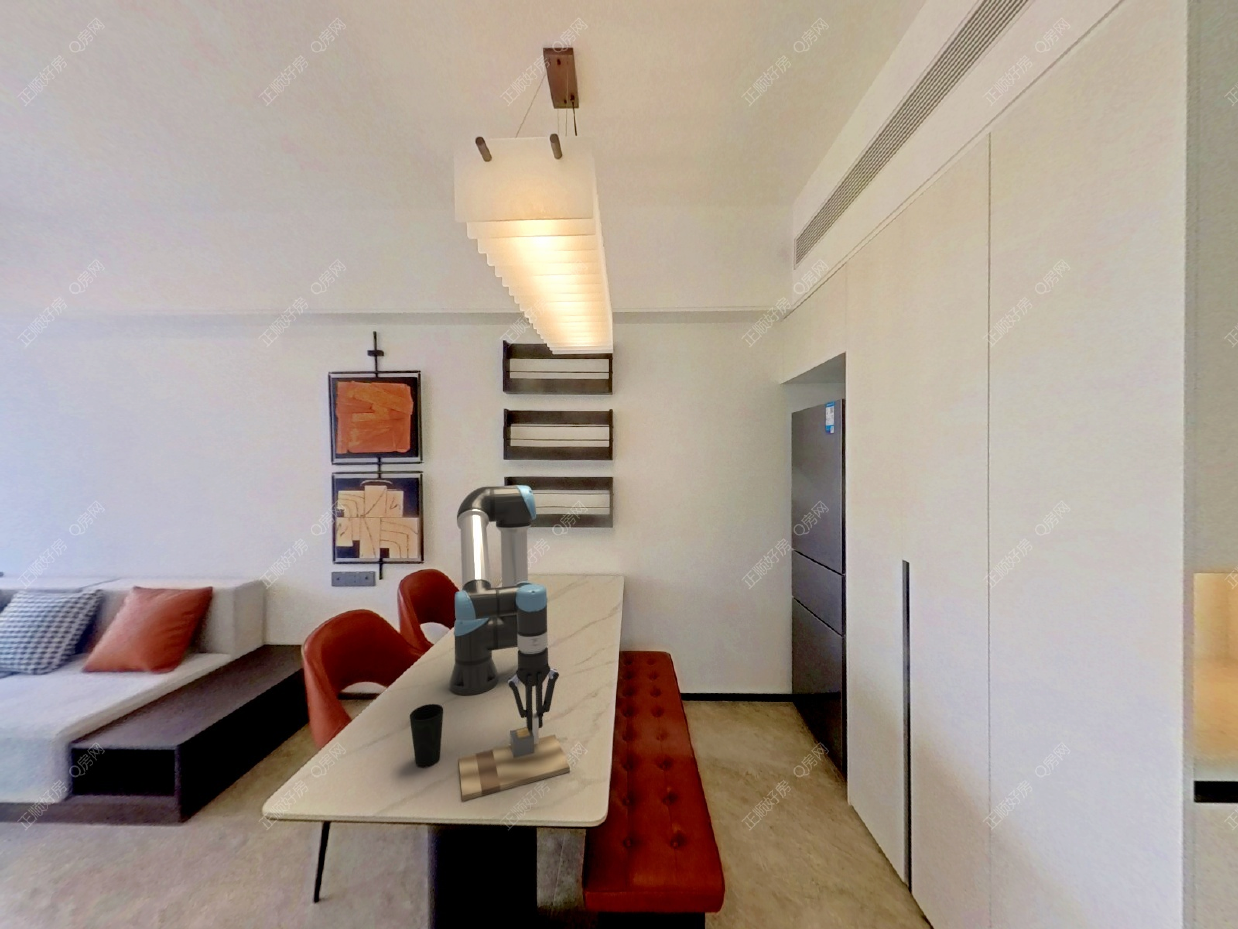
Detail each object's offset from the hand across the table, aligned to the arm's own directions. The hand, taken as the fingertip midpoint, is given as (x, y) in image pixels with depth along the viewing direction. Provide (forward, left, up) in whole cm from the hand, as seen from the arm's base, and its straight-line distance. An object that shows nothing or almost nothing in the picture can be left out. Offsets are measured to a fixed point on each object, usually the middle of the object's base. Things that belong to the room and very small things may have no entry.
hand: (534, 740), depth 119 cm
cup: (-7, -25, -3) cm, 26 cm away
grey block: (0, -3, -1) cm, 4 cm away
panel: (+4, -6, -3) cm, 8 cm away
